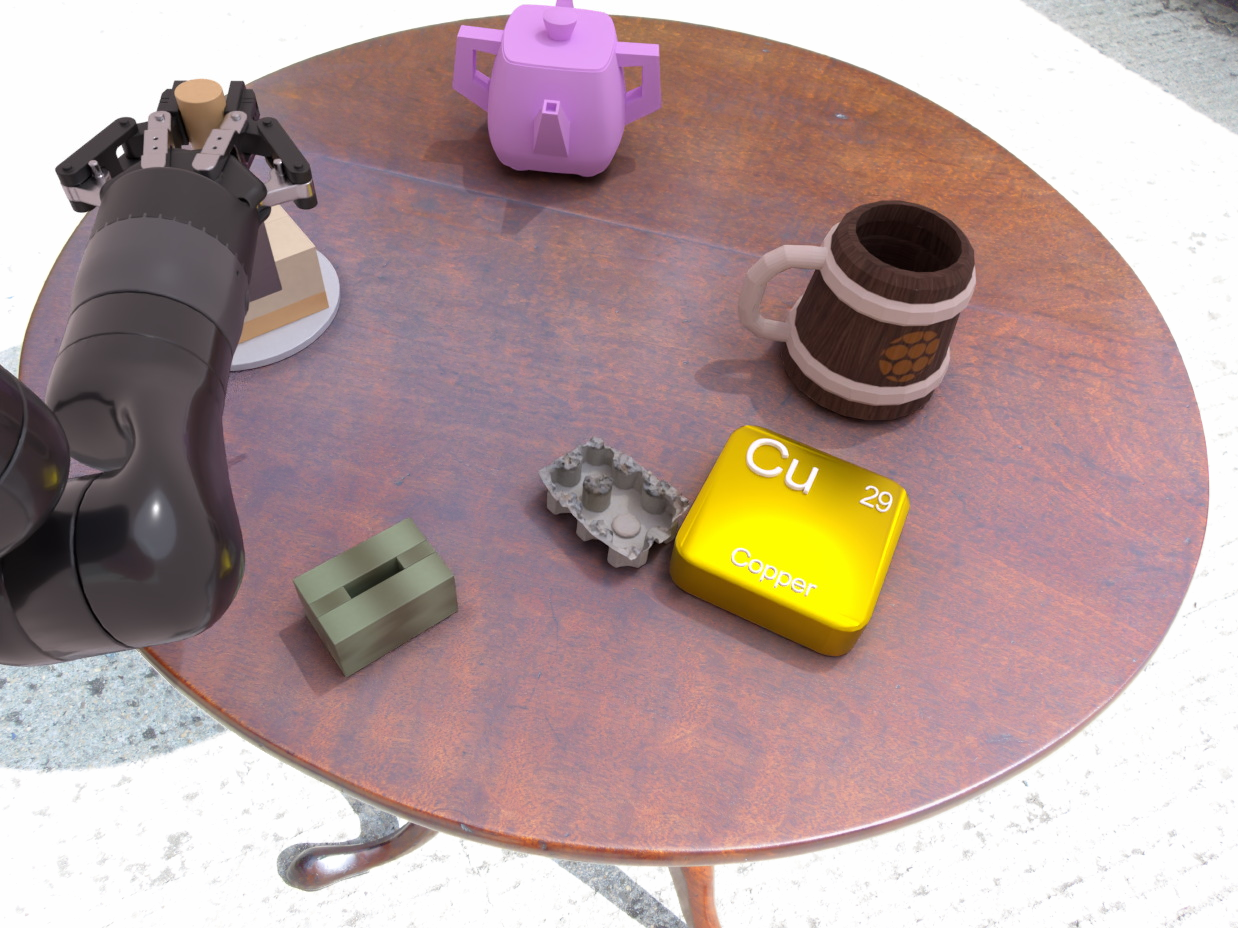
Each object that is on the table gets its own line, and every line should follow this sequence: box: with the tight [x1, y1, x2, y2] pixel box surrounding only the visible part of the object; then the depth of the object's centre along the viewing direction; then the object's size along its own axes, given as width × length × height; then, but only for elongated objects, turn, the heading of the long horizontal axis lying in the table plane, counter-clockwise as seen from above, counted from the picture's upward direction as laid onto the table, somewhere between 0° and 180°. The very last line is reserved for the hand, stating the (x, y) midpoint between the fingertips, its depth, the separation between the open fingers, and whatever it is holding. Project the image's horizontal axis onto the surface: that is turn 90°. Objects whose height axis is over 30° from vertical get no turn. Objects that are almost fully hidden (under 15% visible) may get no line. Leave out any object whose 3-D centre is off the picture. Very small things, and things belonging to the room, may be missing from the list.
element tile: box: [669, 424, 911, 657], centre depth 71 cm, size 15×15×5 cm
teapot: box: [451, 0, 662, 178], centre depth 98 cm, size 19×18×15 cm
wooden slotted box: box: [238, 204, 329, 344], centre depth 81 cm, size 12×12×7 cm
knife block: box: [292, 516, 459, 678], centre depth 64 cm, size 9×6×5 cm, turn 128°
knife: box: [174, 78, 282, 302], centre depth 59 cm, size 4×3×16 cm
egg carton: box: [538, 435, 691, 569], centre depth 72 cm, size 11×8×4 cm
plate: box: [230, 248, 342, 372], centre depth 84 cm, size 18×18×1 cm
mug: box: [737, 199, 977, 421], centre depth 80 cm, size 20×15×15 cm
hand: (213, 95), depth 56 cm, fingers closed on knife, 2 cm apart
